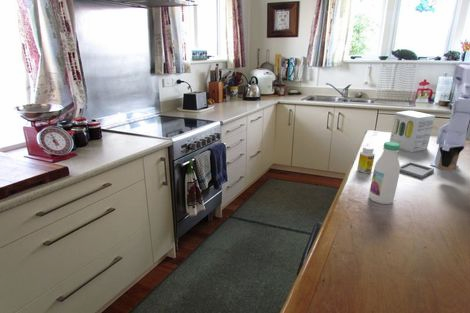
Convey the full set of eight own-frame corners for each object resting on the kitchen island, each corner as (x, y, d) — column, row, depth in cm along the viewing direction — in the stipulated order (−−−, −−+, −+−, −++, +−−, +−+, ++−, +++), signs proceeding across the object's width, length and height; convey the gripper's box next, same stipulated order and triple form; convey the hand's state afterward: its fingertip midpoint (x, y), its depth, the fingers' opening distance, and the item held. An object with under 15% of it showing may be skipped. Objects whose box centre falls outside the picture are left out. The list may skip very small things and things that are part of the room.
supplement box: (387, 144, 166) (394, 112, 160) (404, 141, 172) (411, 110, 166) (411, 152, 155) (419, 117, 149) (427, 149, 161) (436, 115, 155)
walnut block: (442, 165, 125) (446, 150, 123) (455, 168, 121) (459, 154, 119) (437, 167, 122) (441, 153, 120) (450, 171, 119) (455, 156, 117)
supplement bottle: (365, 174, 128) (370, 150, 124) (354, 170, 132) (358, 146, 129) (374, 171, 131) (378, 148, 127) (362, 167, 135) (366, 144, 131)
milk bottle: (391, 196, 110) (403, 141, 103) (394, 206, 103) (407, 148, 96) (368, 192, 112) (378, 138, 105) (369, 202, 105) (380, 145, 99)
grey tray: (408, 164, 139) (409, 161, 139) (433, 172, 132) (434, 168, 132) (396, 170, 132) (396, 167, 132) (421, 179, 125) (422, 175, 124)
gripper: (462, 136, 109) (452, 172, 114) (476, 129, 118) (465, 163, 123) (440, 131, 114) (431, 166, 119) (454, 125, 123) (445, 158, 128)
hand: (447, 164), depth 121 cm, fingers closed on walnut block, 4 cm apart
